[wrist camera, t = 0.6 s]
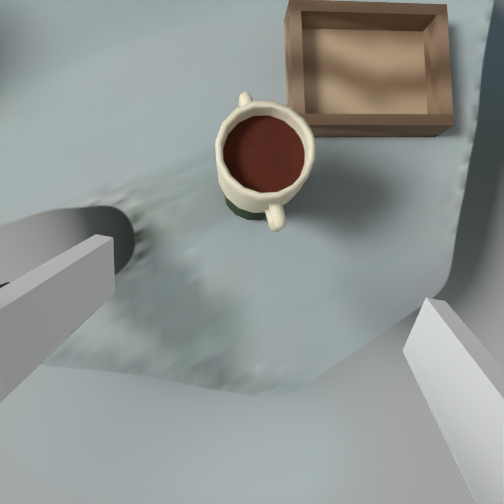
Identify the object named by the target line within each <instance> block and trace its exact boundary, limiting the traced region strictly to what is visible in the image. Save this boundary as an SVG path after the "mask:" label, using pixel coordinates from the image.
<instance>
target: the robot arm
mask: <svg viewBox="0 0 504 504" xmlns="http://www.w3.org/2000/svg"><path fill="white" fill-rule="evenodd" d="M114 293H115V282H114V249H113V238H112V237H107V236H102V235H94V236H92V237H90V238H89V239H87V240H85V241H83V242H82V243H80V244H78V245H76V246H74V247H73V248H71V249H69V250H67V251H66V252H64V253H62V254H60V255H59V256H57V257H55V258H53V259H51V260H50V261H48V262H46V263H44V264H42V265H41V266H39V267H37V268H35V269H34V270H32V271H30V272H28V273H26V274H25V275H23V276H21V277H19V278H18V279H16V280H14V281H12V282H11V283H10V282H7V283H4V284H1V285H0V402H1V401H2V400H3V399H4V398H5V397H7V396H8V395H9V394H10V393H11V392H12V391H13V390H14V389H15V388H16V387H17V386H18V385H19V384H20V383H21V382H22V381H23V380H24V379H25V378H26V377H27V376H28V375H30V374H31V373H32V372H33V371H34V370H35V369H36V368H37V367H38V366H39V365H40V364H41V363H42V362H43V361H44V360H45V359H46V358H47V357H48V356H49V355H51V354H52V353H53V352H54V351H55V350H56V349H57V348H58V347H59V346H60V345H61V344H62V343H63V342H64V341H65V340H66V339H67V338H68V337H69V336H70V335H71V334H73V333H74V332H75V331H76V330H77V329H78V328H79V327H80V326H81V325H82V324H83V323H84V322H85V321H86V320H87V319H88V318H89V317H90V316H91V315H92V314H94V313H95V312H96V311H97V310H98V309H99V308H100V307H101V306H102V305H103V304H104V303H105V302H106V301H107V300H108V299H109V298H110V297H111V296H112V295H113V294H114ZM403 353H404V355H405V357H406V359H407V361H408V364H409V366H410V367H411V370H412V372H413V374H414V376H415V378H416V380H417V382H418V384H419V386H420V388H421V390H422V392H423V395H424V397H425V399H426V401H427V403H428V405H429V407H430V409H431V411H432V413H433V415H434V417H435V419H436V421H437V423H438V426H439V428H440V430H441V432H442V434H443V436H444V438H445V440H446V442H447V444H448V446H449V448H450V450H451V453H452V454H453V457H454V459H455V461H456V463H457V465H458V467H459V469H460V471H461V473H462V475H463V477H464V479H465V481H466V483H467V486H468V488H469V490H470V492H471V494H472V496H473V498H474V500H475V502H476V504H504V369H503V368H502V367H501V366H500V364H499V363H498V362H497V361H496V360H495V359H494V357H493V356H492V355H491V354H490V353H489V351H487V349H486V348H485V347H484V346H483V345H482V343H481V342H480V341H479V340H478V339H477V338H476V336H475V335H474V334H473V333H472V332H471V331H470V329H469V328H468V327H467V326H466V325H465V324H464V322H463V321H462V320H461V319H460V318H459V317H458V315H457V314H456V313H455V312H454V311H453V310H452V309H451V307H450V306H449V305H448V304H447V303H446V301H441V300H436V299H431V298H426V299H425V301H424V303H423V306H422V308H421V310H420V312H419V315H418V317H417V319H416V321H415V324H414V326H413V328H412V330H411V333H410V335H409V337H408V340H407V342H406V344H405V346H404V349H403Z"/></svg>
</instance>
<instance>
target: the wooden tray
mask: <svg viewBox="0 0 504 504" xmlns="http://www.w3.org/2000/svg"><path fill="white" fill-rule="evenodd" d="M284 31H285V57H286V83H287V106H288V107H291V108H292V109H293V110H294V111H296V112H297V113H298V114H299V115H301V116H302V117H303V118H304V119H305V121H306V122H307V124H308V125H309V127H310V128H311V130H312V132H313V135H314V137H436V136H437V135H439V134H441V133H442V132H444V131H446V130H447V129H449V128H450V127H452V126H454V117H453V100H452V83H451V66H450V49H449V32H448V15H447V4H417V3H387V2H357V1H326V0H289V3H288V7H287V11H286V16H285V20H284Z"/></svg>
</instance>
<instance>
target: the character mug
mask: <svg viewBox="0 0 504 504" xmlns="http://www.w3.org/2000/svg"><path fill="white" fill-rule="evenodd" d="M215 148H216V162H217V171H218V179H219V184H220V186H221V188H222V190H223V192H224V196H225V199H226V203H227V205H228V207H229V208H230V209H231V210H232V211H233V212H234V213H235V214H236V215H238V216H240V217H243V218H245V219H247V220H251V219H262V218H264V217H267V221H268V224H269V227H270V228H271V230H272V231H274V232H278V231H280V230H281V229H282V228H284V227H285V226H286V216H285V213H284V209H283V206H282V205H284V204H286V203H287V202H288V201H290V200H291V199H292V198H293V197H294V196H295V195H296V194H297V192H298V191H299V190H300V189H301V187H302V186H303V184H304V182H305V181H306V180H307V179H308V177H309V175H310V172H311V169H312V167H313V164H314V162H315V158H316V143H315V137H314V135H313V132H312V130H311V128H310V127H309V125H308V124H307V122H306V121H305V119H304V118H303V117H302V116H301V115H299V114H298V113H297V112H296V111H294V110H293V109H292V108H291V107H288V106H285V105H283V104H280V103H277V102H274V101H253V99H252V97H251V95H250V93H248V92H245V91H244V92H243V93H242V94H241V95H240V98H239V106H238V108H236V109H235V110H234V111H233V112H232V113H231V114H230V115H229V116H228V117H227V118H226V120H225V121H224V122H223V123H222V125H221V128H220V130H219V133H218V136H217V139H216V142H215Z"/></svg>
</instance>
